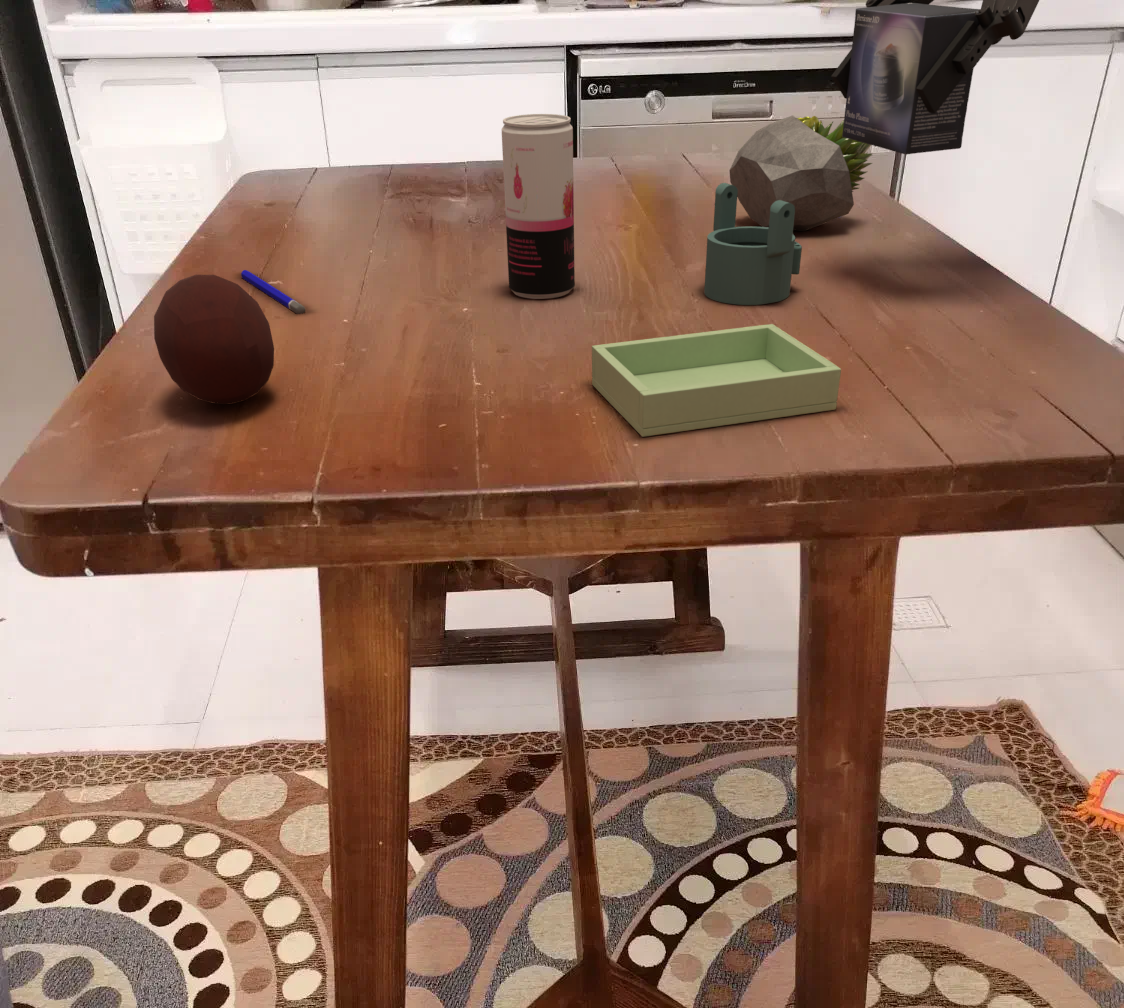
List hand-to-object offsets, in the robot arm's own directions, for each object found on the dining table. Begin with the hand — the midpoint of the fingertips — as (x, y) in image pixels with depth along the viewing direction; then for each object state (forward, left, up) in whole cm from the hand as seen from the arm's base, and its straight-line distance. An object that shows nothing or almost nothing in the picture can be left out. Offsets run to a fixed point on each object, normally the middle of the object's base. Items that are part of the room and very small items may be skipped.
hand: (881, 94), depth 98 cm
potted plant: (+26, -7, -17) cm, 31 cm away
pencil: (+20, +55, -17) cm, 61 cm away
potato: (-9, +61, -17) cm, 64 cm away
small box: (+1, -3, -4) cm, 5 cm away
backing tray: (-22, +25, -17) cm, 37 cm away
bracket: (+3, +10, -17) cm, 20 cm away
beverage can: (+11, +29, -17) cm, 35 cm away
